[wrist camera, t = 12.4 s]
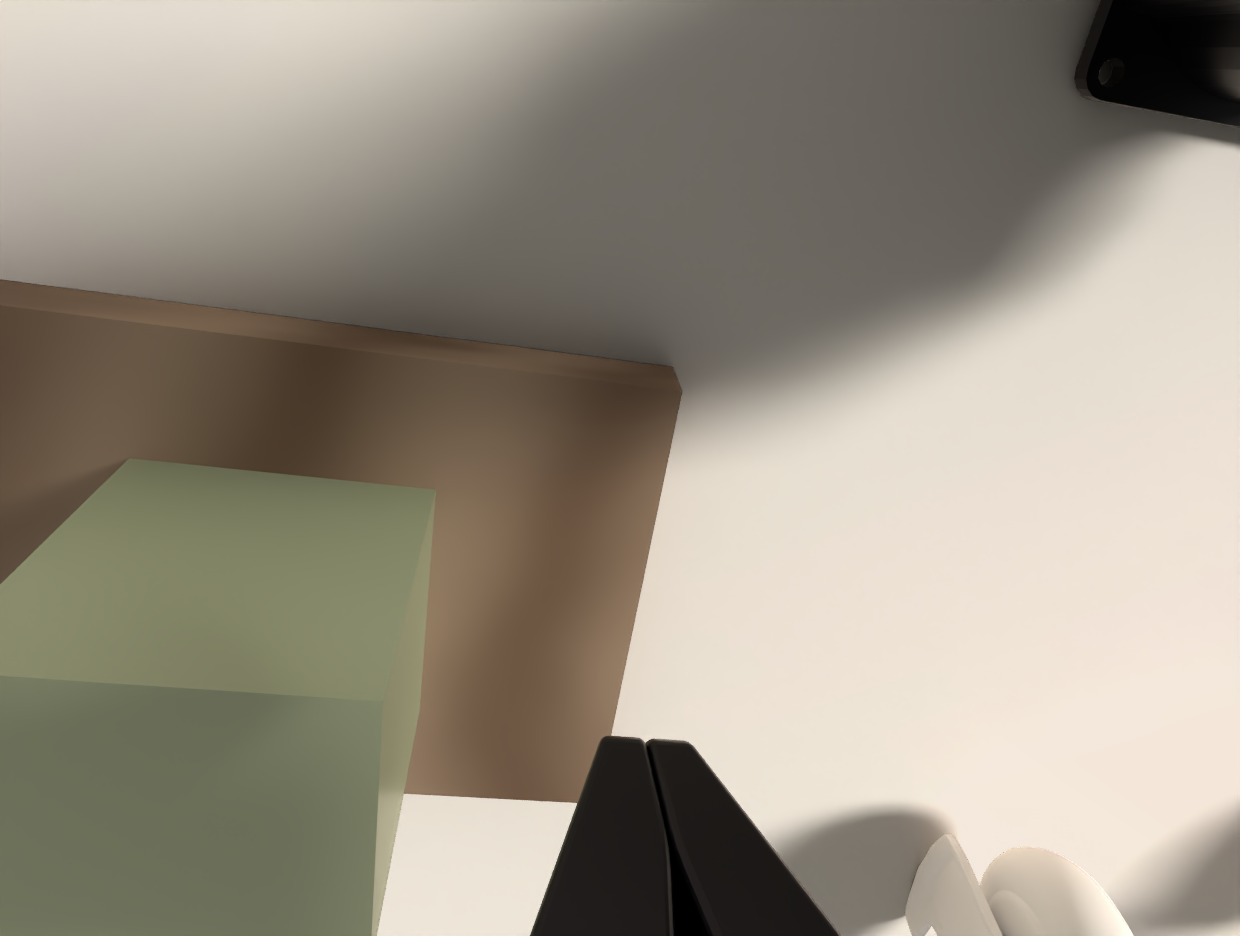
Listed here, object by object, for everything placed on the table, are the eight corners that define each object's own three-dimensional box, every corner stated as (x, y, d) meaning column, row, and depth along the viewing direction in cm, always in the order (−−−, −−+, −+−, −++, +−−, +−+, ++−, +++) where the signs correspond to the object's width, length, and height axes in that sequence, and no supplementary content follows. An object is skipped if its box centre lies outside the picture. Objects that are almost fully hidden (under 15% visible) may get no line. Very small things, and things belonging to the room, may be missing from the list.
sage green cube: (435, 489, 18) (382, 701, 12) (419, 710, 21) (369, 972, 15) (129, 458, 17) (-88, 670, 11) (152, 692, 20) (-12, 962, 14)
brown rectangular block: (672, 367, 19) (731, 513, 13) (593, 762, 24) (610, 997, 18) (-116, 264, 17) (-489, 384, 11) (-17, 724, 22) (-230, 980, 16)
